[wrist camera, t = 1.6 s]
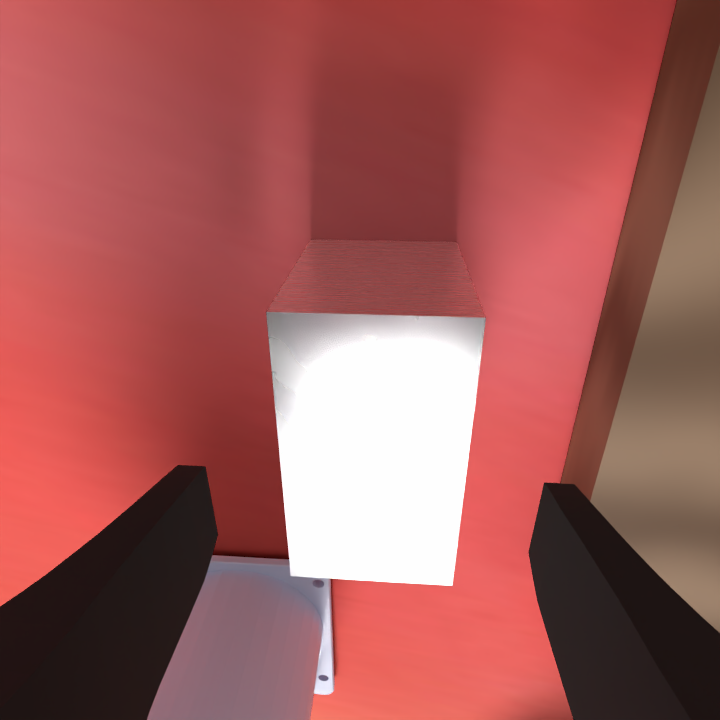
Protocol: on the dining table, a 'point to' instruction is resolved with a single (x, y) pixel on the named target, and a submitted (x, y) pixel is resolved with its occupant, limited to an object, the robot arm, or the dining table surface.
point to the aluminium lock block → (375, 407)
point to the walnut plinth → (665, 334)
